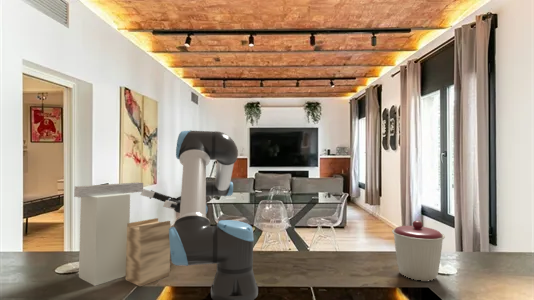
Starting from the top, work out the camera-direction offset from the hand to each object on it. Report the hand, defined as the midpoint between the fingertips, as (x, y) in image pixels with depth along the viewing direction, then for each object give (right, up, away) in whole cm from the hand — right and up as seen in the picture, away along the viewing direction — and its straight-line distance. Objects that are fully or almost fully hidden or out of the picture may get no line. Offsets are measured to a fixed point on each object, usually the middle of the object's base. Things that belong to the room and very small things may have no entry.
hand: (153, 197), depth 126 cm
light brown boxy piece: (+3, -27, -14) cm, 30 cm away
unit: (-13, -27, -13) cm, 33 cm away
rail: (-12, +3, -10) cm, 16 cm away
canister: (+104, -29, -8) cm, 108 cm away
